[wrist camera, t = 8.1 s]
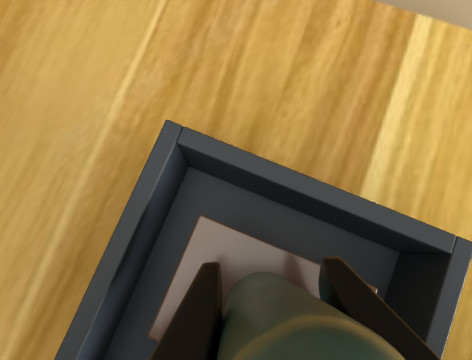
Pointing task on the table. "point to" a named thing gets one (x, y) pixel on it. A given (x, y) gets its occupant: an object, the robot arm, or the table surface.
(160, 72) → the table surface
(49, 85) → the table surface
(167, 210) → the basket
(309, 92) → the table surface
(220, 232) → the teal handled stamp
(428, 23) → the table surface
